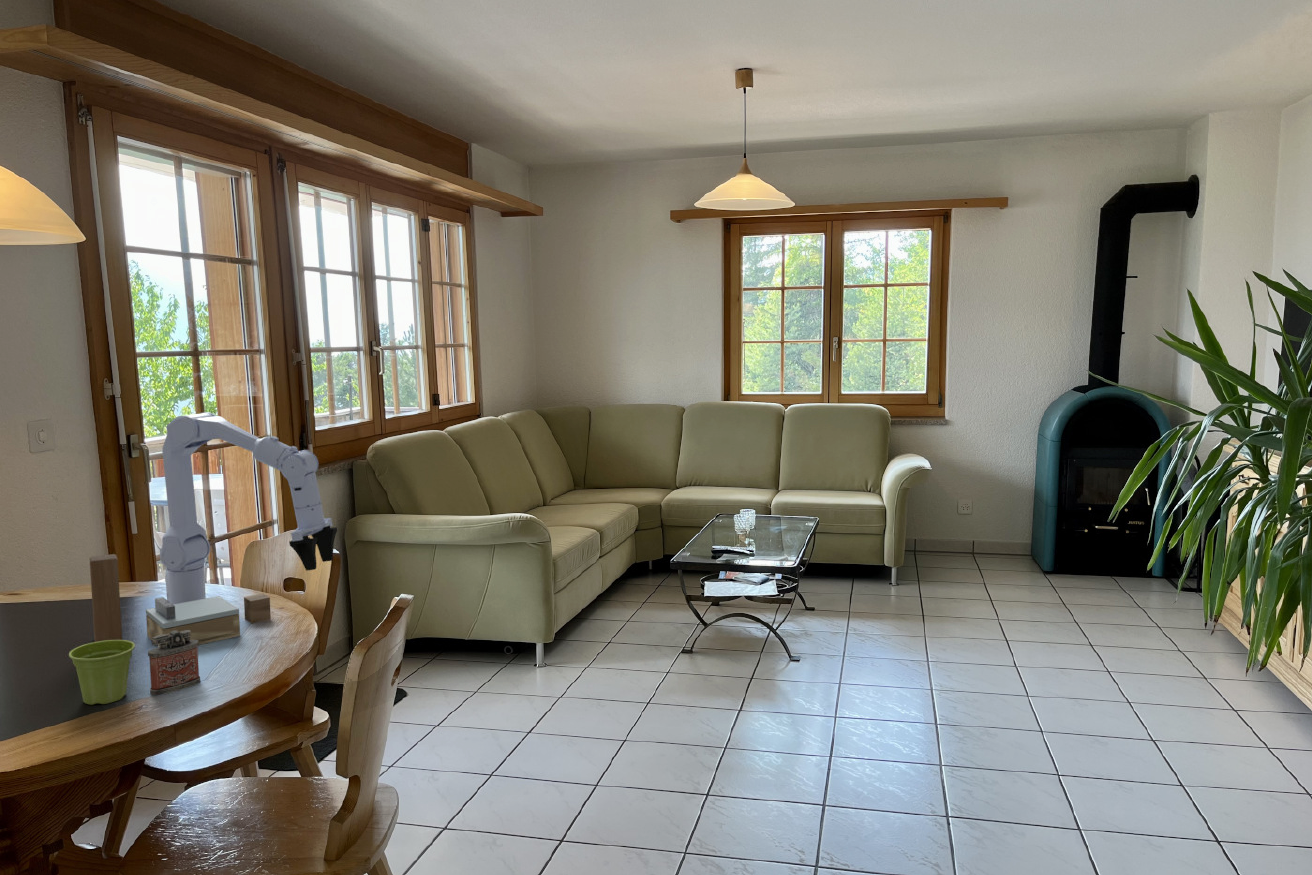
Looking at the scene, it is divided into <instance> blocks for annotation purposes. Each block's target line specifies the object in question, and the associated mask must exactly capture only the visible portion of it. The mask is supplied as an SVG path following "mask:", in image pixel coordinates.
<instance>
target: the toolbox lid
mask: <svg viewBox="0 0 1312 875" xmlns="http://www.w3.org/2000/svg"><path fill="white" fill-rule="evenodd" d="M154 603H155V604H154V606H155V607H153V608H147V609H145V615H148V616H149V617H150V618H151V619H152V620H153V621H155V622H156V623H157V624H158V625H159V626H161V627H162V628H163V629H165V628H170V627H175V626H180V625H185V624H190V623H195V622H200V621H205V620H210V619H215V618H220V617H225V616H230V615H235V614H239V615H240V608H238V606H235V605H234V604H232V603H231V602H229V601H228V600H227V599H225V598H223V597H221V596H220V595H217V596H213V597H208V598H207V597H206V599H200V600H195V601H190V602H184V603H179V604H172V603H170V602H169V601H168V600H167V598H165V597H164V596H162V597H155V598H154Z"/></svg>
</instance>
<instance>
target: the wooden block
mask: <svg viewBox="0 0 1312 875" xmlns="http://www.w3.org/2000/svg"><path fill="white" fill-rule="evenodd" d="M118 565H119V561H118V556H117V554H115V553H112V554H104V555H103V554H102V555H95V556H90V557H89V572H90V587H91V602H92V623H93V636H94V642H99V641H106V640H123V629H122V611H121V610H122V609H121V593H120V581H119V579H120V578H119V577H120V576H119V566H118Z"/></svg>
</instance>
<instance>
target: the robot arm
mask: <svg viewBox="0 0 1312 875" xmlns="http://www.w3.org/2000/svg"><path fill="white" fill-rule="evenodd" d="M279 439H280V438H279V437H276V436H275V435H273V436H264V437H262V438H261V437H258V436H256V435H255V434H252V433H250V432H248V431H246V430H244V429H243V428H241V427H239V426H237V425H236V424H233V423H231V422H230V421H228V420H226V419H225V417H223V416H220V415H216V414H214V413H212V412H208V411H207V412H206V411H204V412H200V413H195V414H187V415H184V414H183V415H179V416H177V417H174V418H173V419H172V420H171V421H170V422H169V423H167V424H166V437H165V439H164V443H163V445H162V461H163V470H164V479H165V481H164V482H165V490H166V491H165V492H166V502H167V510H168V513H167V514H168V521H169V528H168V529H167V530H166V532H165V533H164V535H163V536H162V538H161V539H162V545H161V549H160V551H159V558H160V559H159V560H160V562H161V563H162V565H163V566H164V567H165V568H166V571H167V572H166V573H165V588H166V591H165V592H166V600H168V601H169V602H170V603H172V604H179V603H184V602H190V601H195V600H200V599H206V598H207V596H206V578H205V577H206V574H205V564H206V558H208V557H209V555H210V552H211V544H210V541H209V540H208V538H207V536H206V531H205V528H204V527H203V526H202V525H200V524H199V523H198V516H197V506H196V497H195V496H196V495H195V486H194V484H195V483H194V475H193V465H192V464H193V463H192V455H193V454H194V453H195V452H196V451H197V450H198V449H199V448H200V447H201V446H202V445H204V444H206V443H208V442H210V441H212V440H221V441H225V442H227V443H229V444H232V445H234V446H237V447H238V448H242V449H244V450H247V451H249V452H252V454H253V457H254V460H256V461H258V462H260V463H262V464H265V465H267V466H269V467H270V468H273V469H275V470H277V471H280V472H281V474H282V476H283V477H284V478H285V479H286V480H287V482H288V486H289V489H290V493H291V498H292V499H291V500H292V503H293V504H292V505H293V509H294V515H295V519H296V525H297V528H296V529H295V530H293V531H291V532H290V535H291V540H290V541H288V543H289V546H290V547H291V548H292V549H293V551H294V552H295V553H296V554H297V556H298V557H299V559H300V561H301V563H302V565H303V568H304V569H305V571H313V570H317V554H316V549H318V552H319V555H320V559H321V561H322V562H332V561H333V558H334V545H335V539H336V535H337V533H338V527H337V526H336V527H335V526H334V525H333V521H332V518H331V517H327V518H325V514H324V509H323V502H322V499H321V493H320V488H319V483H318V479H317V473H316V472H317V471H318V469H319V460H318V457H317V456H316V454H315V453H313V452H311V451H310V450H308V449H303V450H298V446H295V445H292V446H289V445H288V444H285V443H283V442H281V441H279ZM333 526H334V527H333ZM309 536H311V537H312V538H310V537H309ZM316 546H317V548H316Z"/></svg>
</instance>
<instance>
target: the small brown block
mask: <svg viewBox="0 0 1312 875" xmlns="http://www.w3.org/2000/svg"><path fill="white" fill-rule="evenodd" d="M243 606H244V620H245V621H247V622H249V623H250V624H252V625H253V624H256V623H260V622H265V621H270V620H271V619H272V618H271V597H270V596H268V594H267V595H266V594H265V593H259V594H258V593H257V594H252V595H247V596H243Z"/></svg>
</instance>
